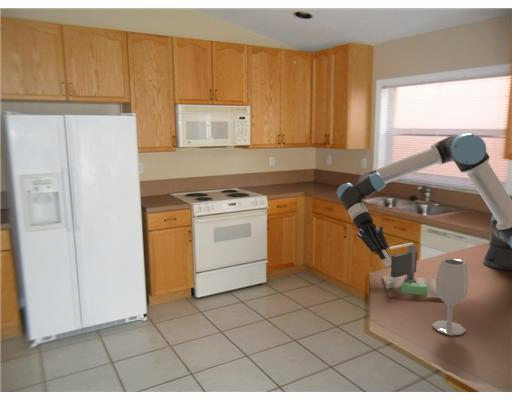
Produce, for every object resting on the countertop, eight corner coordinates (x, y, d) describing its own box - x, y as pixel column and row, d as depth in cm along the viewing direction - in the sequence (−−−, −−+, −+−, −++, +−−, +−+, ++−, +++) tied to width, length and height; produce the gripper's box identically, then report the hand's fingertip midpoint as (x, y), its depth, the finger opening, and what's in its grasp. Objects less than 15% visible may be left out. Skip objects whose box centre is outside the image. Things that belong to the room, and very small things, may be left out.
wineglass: (426, 326, 124) (430, 259, 121) (447, 320, 127) (452, 255, 124) (449, 339, 116) (455, 267, 113) (471, 333, 119) (477, 263, 116)
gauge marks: (428, 291, 148) (428, 283, 147) (426, 296, 143) (426, 288, 143) (387, 284, 154) (388, 277, 154) (384, 289, 150) (385, 281, 149)
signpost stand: (409, 278, 161) (411, 240, 158) (418, 281, 157) (421, 243, 154) (383, 285, 153) (385, 245, 151) (393, 288, 150) (395, 248, 147)
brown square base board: (432, 281, 161) (432, 278, 161) (446, 301, 142) (446, 298, 142) (382, 278, 165) (382, 275, 164) (389, 297, 145) (389, 294, 145)
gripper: (366, 219, 176) (395, 267, 164) (344, 223, 169) (372, 273, 158) (376, 209, 170) (407, 258, 159) (353, 212, 164) (384, 263, 152)
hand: (390, 265), depth 158 cm, fingers closed
